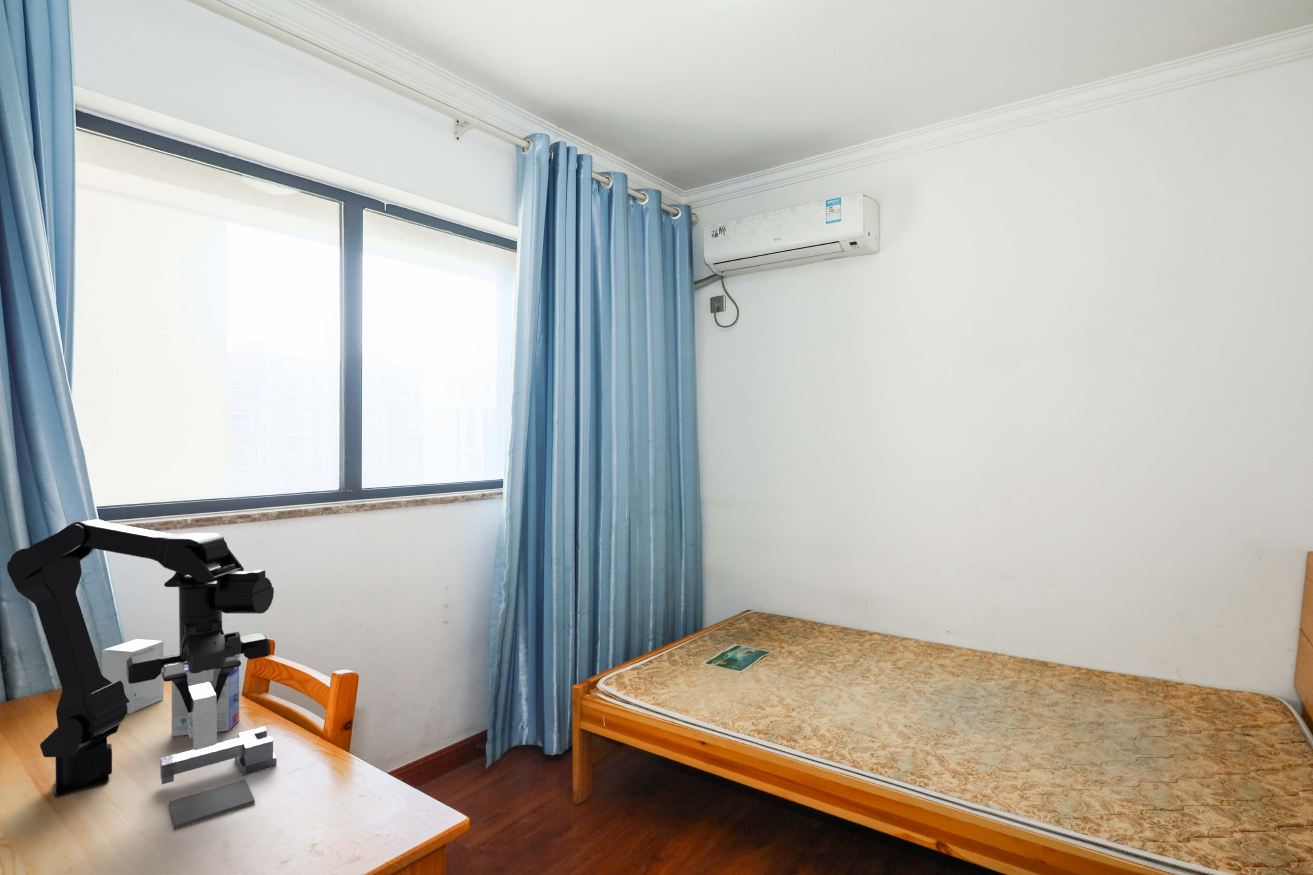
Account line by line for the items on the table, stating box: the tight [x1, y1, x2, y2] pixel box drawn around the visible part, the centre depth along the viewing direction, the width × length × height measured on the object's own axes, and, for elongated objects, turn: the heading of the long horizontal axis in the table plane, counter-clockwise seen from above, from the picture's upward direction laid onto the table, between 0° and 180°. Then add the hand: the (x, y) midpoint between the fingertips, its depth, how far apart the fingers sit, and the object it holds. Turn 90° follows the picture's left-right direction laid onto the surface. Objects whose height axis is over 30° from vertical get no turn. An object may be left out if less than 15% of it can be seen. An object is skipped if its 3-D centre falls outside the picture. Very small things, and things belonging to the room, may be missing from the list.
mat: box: [168, 778, 256, 831], centre depth 101 cm, size 10×8×1 cm
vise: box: [159, 725, 278, 785], centre depth 110 cm, size 16×7×4 cm, turn 131°
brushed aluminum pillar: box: [188, 682, 218, 751], centre depth 106 cm, size 3×7×8 cm, turn 42°
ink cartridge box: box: [170, 665, 240, 737], centre depth 126 cm, size 10×6×14 cm, turn 104°
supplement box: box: [101, 638, 165, 715], centre depth 136 cm, size 7×7×13 cm
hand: (202, 708), depth 106 cm, fingers closed on brushed aluminum pillar, 3 cm apart
